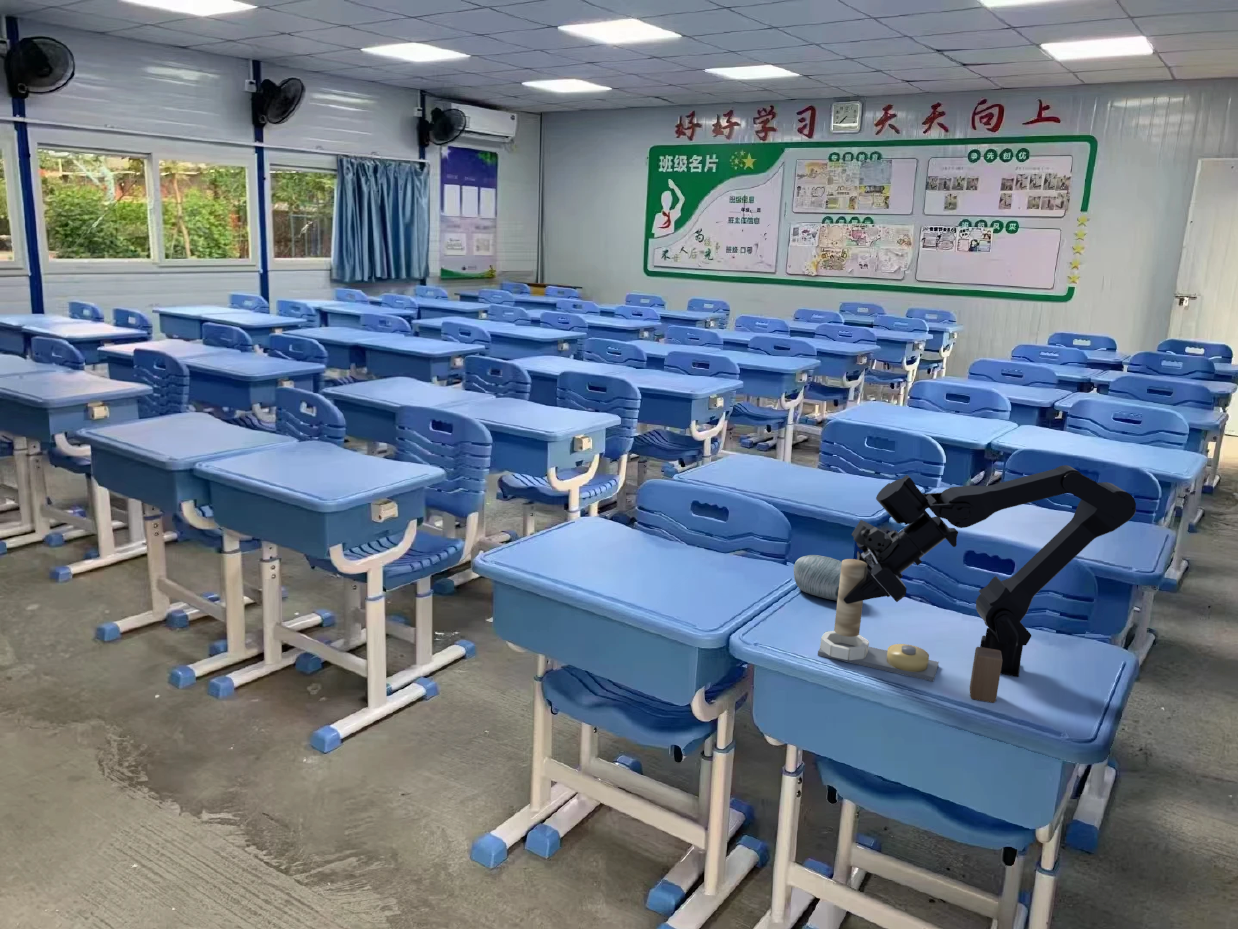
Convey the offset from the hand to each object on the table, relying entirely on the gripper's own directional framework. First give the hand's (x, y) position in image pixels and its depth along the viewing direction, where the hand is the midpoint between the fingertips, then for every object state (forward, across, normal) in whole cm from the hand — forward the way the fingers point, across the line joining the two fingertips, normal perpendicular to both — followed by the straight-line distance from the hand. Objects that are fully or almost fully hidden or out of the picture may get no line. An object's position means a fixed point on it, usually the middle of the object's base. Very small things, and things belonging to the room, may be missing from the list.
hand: (842, 596), depth 169 cm
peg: (+4, 0, +6) cm, 7 cm away
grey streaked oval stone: (+7, -29, +9) cm, 31 cm away
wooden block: (-8, +12, +24) cm, 28 cm away
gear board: (+3, +2, +13) cm, 13 cm away
